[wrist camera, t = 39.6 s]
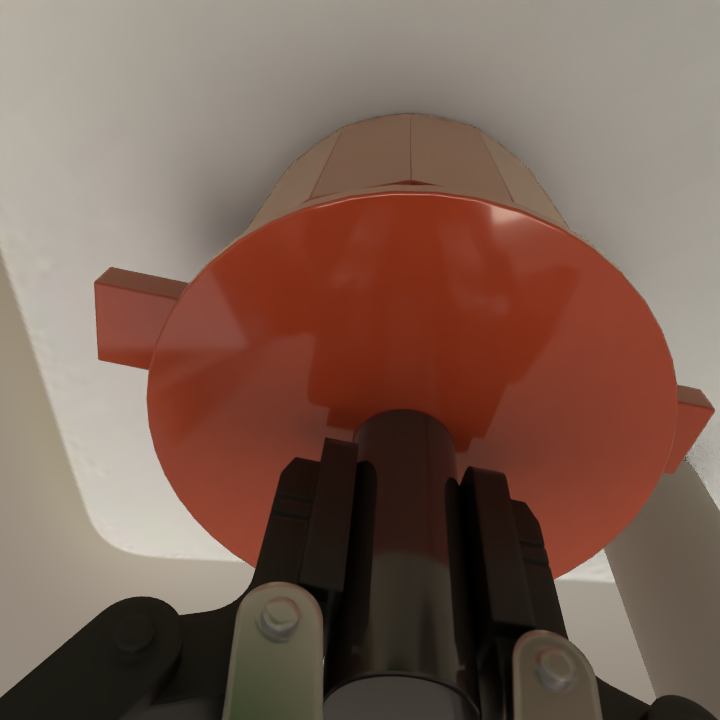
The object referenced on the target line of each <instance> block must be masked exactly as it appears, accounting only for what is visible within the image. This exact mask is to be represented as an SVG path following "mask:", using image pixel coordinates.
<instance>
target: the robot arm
mask: <svg viewBox="0 0 720 720" xmlns="http://www.w3.org/2000/svg"><path fill="white" fill-rule="evenodd" d="M358 450H359V444H357V443H352V442H347V441H342V440H337V439H332V438H327V437H325V441H324V445H323V450H322V455H321V459H320V461H314V460H309V459H304V458H299V457H295V458H294V459H293V460H292V461H291V462H290V463H289V464H288V465H287V467H286V468H285V469H284V470H283V471H282V472H281V474H280V478H279V482H278V486H277V489H276V493H275V497H274V501H273V504H272V508H271V513H270V516H269V520H268V523H267V527H266V531H265V535H264V538H263V542H262V546H261V550H260V554H259V557H258V561H257V565H256V569H255V573H254V576H253V579H252V582H251V583H250V585H249V587H248V589H247V590H246V591H245V592H244V593H243V594H242V595H241V596H240V597H239V598H238V599H237V600H235V601H234V602H232V603H231V604H229V605H227V606H225V607H223V608H220V609H217V610H213V611H208V612H201V613H193V614H186V615H178V613H177V612H176V611H175V609H173V607H172V606H170V605H169V604H168V603H165V602H164V601H162V600H159V599H157V598H152V597H142V596H141V597H132V598H128V599H124V600H121V601H119V602H117V603H115V604H113V605H111V606H109V607H108V608H106V609H105V610H104V611H102V612H101V613H100V614H99V615H98V616H96V617H95V618H94V619H93V620H92V621H91V622H89V623H88V624H87V625H86V626H85V627H83V628H82V629H81V630H80V631H79V632H77V633H76V634H75V635H74V636H73V637H72V638H70V639H69V640H68V641H67V642H66V643H64V644H63V645H62V646H61V647H60V648H59V649H57V650H56V651H55V652H54V653H53V654H51V655H50V656H49V657H48V658H47V659H46V660H44V661H43V662H42V663H41V664H40V665H39V666H38V667H36V668H35V669H34V670H33V671H32V672H30V673H29V674H28V675H27V676H25V677H24V678H23V679H22V680H21V681H20V682H18V683H17V684H16V685H15V686H14V687H13V688H11V689H10V690H9V691H8V692H7V693H5V694H4V695H3V696H2V697H1V698H0V720H323V659H324V656H325V649H326V641H327V636H328V634H329V631H330V629H331V628H332V626H333V625H334V621H335V618H336V614H337V611H338V607H339V604H340V600H341V597H342V593H343V588H344V579H345V570H346V561H347V551H348V542H349V533H350V524H351V514H352V505H353V496H354V487H355V477H356V468H357V459H358ZM459 491H460V500H461V510H462V520H463V530H464V540H465V549H466V559H467V569H468V579H469V589H470V599H471V608H472V618H473V628H474V638H475V648H476V658H477V667H478V677H479V687H480V697H481V707H482V720H718V719H717V718H716V717H715V716H713V715H712V714H711V713H710V712H709V711H708V710H706V709H705V708H704V707H702V706H701V705H699V704H698V703H696V702H694V701H692V700H690V699H688V698H685V697H682V696H678V695H665V696H661V697H659V698H658V699H656V700H655V701H654V702H653V704H652V705H651V706H650V705H648V704H646V703H644V702H642V701H640V700H638V699H636V698H634V697H632V696H630V695H628V694H626V693H624V692H622V691H620V690H618V689H617V688H615V687H613V686H610V685H609V684H607V683H606V682H604V681H602V680H601V679H599V678H598V677H597V676H596V675H595V673H594V671H593V668H592V666H591V664H590V663H589V661H588V659H587V658H586V657H585V655H584V654H583V653H582V652H581V651H580V650H579V649H578V648H577V647H576V646H575V645H574V644H573V643H572V642H570V641H569V639H568V636H567V633H566V629H565V625H564V621H563V616H562V613H561V608H560V604H559V600H558V596H557V592H556V588H555V584H554V580H553V576H552V572H551V568H550V567H549V560H548V555H547V551H546V549H544V546H545V543H544V539H543V535H542V531H541V527H540V523H539V521H538V520H537V519H536V517H535V516H534V514H533V513H532V511H531V510H530V508H529V507H528V505H527V504H526V502H523V501H518V500H513V499H511V498H510V493H509V488H508V483H507V478H506V475H505V474H504V473H503V472H498V471H493V470H488V469H483V468H478V467H473V466H469V467H468V468H467V469H466V471H465V473H464V475H463V478H462V480H461V483H460V485H459Z"/></svg>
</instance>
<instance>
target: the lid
mask: <svg viewBox="0 0 720 720" xmlns="http://www.w3.org/2000/svg"><path fill="white" fill-rule="evenodd" d="M147 409H148V421H149V428H150V432H151V436H152V440H153V444H154V448H155V452H156V454H157V457H158V459H159V462H160V464H161V466H162V469H163V471H164V474H165V476H166V478H167V479H168V481H169V483H170V484H171V486H172V488H173V490H174V491H175V493H176V495H177V496H178V498H179V499H180V501H181V502H182V503H183V505H184V506H185V507H186V508H187V510H188V511H189V512H190V514H191V515H192V516H193V517H194V519H195V520H196V521H197V522H198V523H199V524H200V525H201V526H202V527H203V528H204V529H205V530H206V531H207V532H208V533H209V534H210V535H211V536H212V537H213V538H214V539H216V540H217V541H218V542H219V543H221V544H222V545H223V546H224V547H225V548H227V549H228V550H229V551H230V552H231V553H233V554H234V555H236V556H237V557H239V558H240V559H242V560H243V561H245V562H246V563H248V564H249V565H251V566H252V567H254V568H256V565H257V561H258V557H259V554H260V550H261V546H262V542H263V538H264V535H265V531H266V527H267V523H268V520H269V516H270V513H271V508H272V504H273V501H274V497H275V493H276V489H277V486H278V482H279V478H280V474H281V472H282V471H283V470H284V469H285V468H286V467H287V465H288V464H289V463H290V462H291V461H292V460H293V459H294V458H295V457H299V458H304V459H309V460H314V461H320V459H321V455H322V450H323V445H324V441H325V437H327V438H332V439H337V440H342V441H347V442H352V443H357V444H359V450H358V459H357V468H356V477H355V487H354V496H353V505H352V514H351V524H350V533H349V542H348V551H347V561H346V570H345V579H344V588H343V593H342V597H341V600H340V604H339V607H338V611H337V614H336V618H335V621H334V625H333V626H332V628H331V629H330V631H329V634H328V636H327V641H326V649H325V657H324V665H323V720H482V707H481V697H480V687H479V677H478V667H477V658H476V648H475V638H474V628H473V618H472V608H471V599H470V589H469V579H468V569H467V559H466V549H465V540H464V530H463V520H462V510H461V500H460V491H459V485H460V483H461V480H462V478H463V475H464V473H465V471H466V469H467V468H468V467H469V466H473V467H478V468H483V469H488V470H493V471H498V472H503V473H504V474H505V475H506V478H507V483H508V488H509V493H510V498H511V499H513V500H518V501H523V502H526V504H527V505H528V507H529V508H530V510H531V511H532V513H533V514H534V516H535V517H536V519H537V520H538V521H539V523H540V527H541V531H542V535H543V539H544V543H545V546H544V549H546V551H547V555H548V560H549V567H550V568H551V572H552V576H553V580H554V579H556V578H558V577H560V576H562V575H564V574H566V573H568V572H569V571H571V570H573V569H574V568H576V567H577V566H579V565H580V564H582V563H584V562H585V561H587V560H588V559H590V558H591V557H593V556H594V555H595V554H597V553H598V552H599V551H600V550H602V549H603V548H604V547H605V546H607V545H608V544H609V543H610V542H612V541H613V540H614V539H615V538H616V537H617V536H618V535H619V534H620V533H621V532H622V531H623V530H624V529H625V528H626V527H627V526H628V525H629V524H630V523H631V522H632V521H633V519H634V518H635V517H636V515H637V514H638V513H639V511H640V510H641V509H642V507H643V506H644V505H645V503H646V502H647V501H648V499H649V498H650V496H651V494H652V493H653V491H654V489H655V487H656V485H657V483H658V482H659V480H660V478H661V476H662V474H663V472H664V469H665V466H666V464H667V461H668V458H669V455H670V453H671V450H672V446H673V441H674V436H675V430H676V425H677V419H678V388H677V382H676V376H675V370H674V364H673V359H672V356H671V353H670V351H669V348H668V345H667V342H666V340H665V337H664V334H663V332H662V329H661V327H660V326H659V324H658V322H657V320H656V319H655V317H654V315H653V313H652V312H651V310H650V308H649V307H648V305H647V303H646V301H645V300H644V299H643V297H642V296H641V295H640V293H639V292H638V291H637V290H636V288H635V287H634V286H633V285H632V284H631V282H630V281H629V280H628V279H627V278H626V276H625V275H624V274H623V273H622V272H621V270H620V269H619V268H618V267H617V266H616V265H615V264H614V263H613V262H612V261H611V260H610V259H609V258H607V257H606V256H605V255H604V254H603V253H602V252H600V251H599V250H598V249H597V248H596V247H595V246H594V245H592V244H591V243H590V242H589V241H588V240H586V239H585V238H583V237H581V236H580V235H578V234H577V233H575V232H574V231H572V230H570V229H569V228H567V227H566V226H564V225H562V224H561V223H559V222H558V221H556V220H554V219H552V218H550V217H548V216H545V215H543V214H541V213H539V212H536V211H534V210H532V209H530V208H527V207H525V206H523V205H521V204H518V203H515V202H512V201H508V200H505V199H501V198H498V197H494V196H491V195H488V194H484V193H481V192H476V191H470V190H463V189H456V188H450V187H443V186H436V185H387V186H378V187H370V188H361V189H353V190H348V191H344V192H340V193H336V194H332V195H328V196H324V197H320V198H316V199H312V200H310V201H307V202H305V203H302V204H300V205H297V206H295V207H292V208H290V209H287V210H285V211H282V212H280V213H277V214H275V215H273V216H271V217H270V218H268V219H266V220H265V221H263V222H261V223H259V224H258V225H256V226H254V227H252V228H251V229H249V230H247V231H246V232H244V233H242V234H241V235H240V236H238V237H237V238H236V239H235V240H233V241H232V242H231V243H230V244H228V245H227V246H226V247H225V248H223V249H222V250H221V251H220V252H218V253H217V254H216V255H214V257H213V258H212V259H211V260H210V261H209V262H208V263H207V264H206V265H205V266H204V267H203V268H202V270H201V271H200V272H199V273H198V274H197V275H196V276H195V277H194V278H193V279H192V280H191V282H190V283H189V284H188V286H187V287H186V288H185V290H184V292H183V293H182V295H181V296H180V298H179V299H178V301H177V302H176V304H175V305H174V307H173V308H172V310H171V311H170V313H169V314H168V316H167V318H166V321H165V323H164V325H163V327H162V330H161V332H160V334H159V336H158V339H157V341H156V344H155V348H154V352H153V356H152V360H151V364H150V367H149V374H148V386H147Z"/></svg>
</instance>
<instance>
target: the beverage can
mask: <svg viewBox="0 0 720 720" xmlns="http://www.w3.org/2000/svg"><path fill="white" fill-rule="evenodd" d="M604 550H605V553H606V556H607V559H608V562H609V564H610V567H611V570H612V573H613V576H614V579H615V581H616V584H617V587H618V590H619V593H620V596H621V598H622V601H623V604H624V607H625V610H626V612H627V616H628V618H629V621H630V624H631V627H632V629H633V633H634V635H635V638H636V641H637V644H638V647H639V650H640V652H641V655H642V658H643V661H644V664H645V667H646V670H647V672H648V675H649V678H650V681H651V684H652V687H653V689H654V692H655V695H656V698H657V699H658V698H659V697H661V696H665V695H678V696H682V697H685V698H688V699H690V700H692V701H694V702H696V703H698V704H699V705H701V706H702V707H704V708H705V709H706V710H708V711H709V712H710V713H711V714H712V715H713V716H715V717H716V718H717V719H718V720H720V511H719V509H718V507H717V506H716V504H715V502H714V501H713V499H712V497H711V496H710V494H709V492H708V491H707V489H706V487H705V486H704V484H703V482H702V481H701V479H700V477H699V476H698V474H697V473H696V471H695V470H694V469H693V467H692V466H691V465H690V464H688V463H687V462H685V461H684V460H683V461H682V462H681V464H680V465H679V467H678V468H677V470H676V471H675V473H674V474H667V473H663V474H662V476H661V478H660V480H659V482H658V483H657V485H656V487H655V489H654V491H653V493H652V494H651V496H650V498H649V499H648V501H647V502H646V503H645V505H644V506H643V507H642V509H641V510H640V511H639V513H638V514H637V515H636V517H635V518H634V519H633V521H632V522H631V523H630V524H629V525H628V526H627V527H626V528H625V529H624V530H623V531H622V532H621V533H620V534H619V535H618V536H617V537H616V538H615V539H614V540H613V541H612V542H610V543H609V544H608V545H607V546H605V547H604Z"/></svg>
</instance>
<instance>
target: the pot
mask: <svg viewBox="0 0 720 720" xmlns="http://www.w3.org/2000/svg"><path fill="white" fill-rule="evenodd" d="M387 185H436V186H443V187H450V188H456V189H463V190H470V191H476V192H481V193H484V194H488V195H491V196H494V197H498V198H501V199H505V200H508V201H512V202H515V203H518V204H521V205H523V206H525V207H527V208H530V209H532V210H534V211H536V212H539V213H541V214H543V215H545V216H548V217H550V218H552V219H554V220H556V221H558V222H559V223H561V224H562V225H564V226H566V227H567V228H569V226H568V225H567V224H566V222H565V221H564V219H563V218H562V216H561V215H560V213H559V212H558V210H557V209H556V207H555V206H554V204H553V203H552V202H551V200H550V199H549V197H548V196H547V194H546V193H545V191H544V190H543V188H542V187H541V185H540V184H539V182H538V181H537V179H536V178H535V177H534V175H533V174H532V172H531V171H530V169H529V168H528V167H527V166H526V165H525V164H523V163H522V162H521V161H519V160H518V159H517V158H516V157H514V156H513V155H512V154H511V153H510V152H509V151H508V150H507V149H505V148H504V147H503V146H502V145H501V144H499V143H498V142H496V141H495V140H493V139H492V138H490V137H489V136H487V135H486V134H484V133H483V132H481V131H480V130H479V129H476V128H475V127H471V126H467V125H465V124H463V123H459V122H456V121H453V120H449V119H446V118H442V117H436V116H429V115H423V114H413V113H411V114H396V115H388V116H381V117H375V118H372V119H368V120H364V121H361V122H357V123H355V124H352V125H348V126H345V127H342V128H341V129H339V130H338V131H336V132H335V133H333V134H331V135H330V136H328V137H326V138H325V139H323V140H322V141H320V142H318V143H317V144H316V145H315V146H314V147H312V148H311V149H310V150H309V151H307V152H306V153H305V154H304V155H303V156H301V157H300V158H298V159H297V160H296V161H294V162H293V163H292V164H291V165H290V166H289V168H288V169H287V171H286V172H285V174H284V175H283V177H282V178H281V179H280V181H279V182H278V184H277V185H276V187H275V188H274V190H273V191H272V193H271V194H270V196H269V197H268V199H267V200H266V201H265V203H264V204H263V206H262V207H261V209H260V210H259V212H258V213H257V215H256V216H255V218H254V219H253V221H252V222H251V223H250V225H249V226H248V228H247V229H246V231H247V230H249V229H251V228H252V227H254V226H256V225H258V224H259V223H261V222H263V221H265V220H266V219H268V218H270V217H271V216H273V215H275V214H277V213H280V212H282V211H285V210H287V209H290V208H292V207H295V206H297V205H300V204H302V203H305V202H307V201H310V200H312V199H316V198H320V197H324V196H328V195H332V194H336V193H340V192H344V191H348V190H353V189H361V188H370V187H378V186H387ZM569 229H570V228H569ZM570 230H571V229H570ZM246 231H245V232H246ZM188 284H189V283H186V282H181V281H176V280H172V279H167V278H162V277H157V276H152V275H147V274H143V273H138V272H133V271H128V270H123V269H119V268H114V267H110V268H109V269H108V270H107V271H106V272H104V273H103V274H102V275H101V276H100V277H99V278H98V279H97V280H96V281H95V282H94V290H95V309H96V327H97V346H98V359H99V360H101V361H106V362H111V363H116V364H121V365H126V366H131V367H136V368H141V369H146V370H149V367H150V364H151V360H152V356H153V352H154V348H155V344H156V341H157V339H158V336H159V334H160V332H161V330H162V327H163V325H164V323H165V321H166V318H167V316H168V314H169V313H170V311H171V310H172V308H173V307H174V305H175V304H176V302H177V301H178V299H179V298H180V296H181V295H182V293H183V292H184V290H185V288H186V287H187V286H188ZM677 388H678V419H677V425H676V430H675V436H674V441H673V446H672V450H671V453H670V455H669V458H668V461H667V464H666V466H665V469H664V472H663V473H667V474H674V473H675V471H676V470H677V468H678V467H679V465H680V464H681V462H682V461H683V459H684V458H685V456H686V455H687V453H688V452H689V450H690V449H691V447H692V446H693V444H694V442H695V441H696V439H697V438H698V436H699V435H700V433H701V432H702V430H703V429H704V427H705V426H706V424H707V423H708V421H709V420H710V418H711V417H712V415H713V414H714V412H715V409H714V407H713V406H712V404H711V403H710V402H709V400H708V399H707V398H706V396H705V395H704V394H703V392H702V391H701V390H699V389H695V388H690V387H686V386H681V385H677Z"/></svg>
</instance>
